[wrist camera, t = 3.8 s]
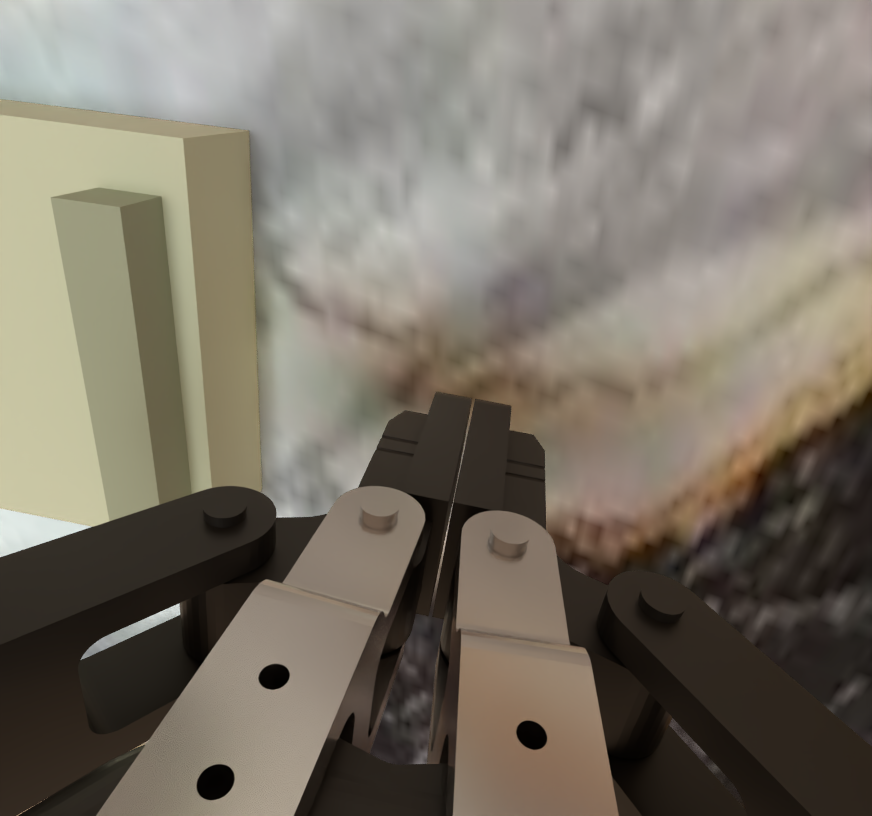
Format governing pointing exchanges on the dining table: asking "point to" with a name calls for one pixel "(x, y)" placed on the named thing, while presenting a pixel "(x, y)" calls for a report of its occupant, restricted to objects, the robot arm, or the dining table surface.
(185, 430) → the panel
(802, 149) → the dining table surface
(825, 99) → the dining table surface
